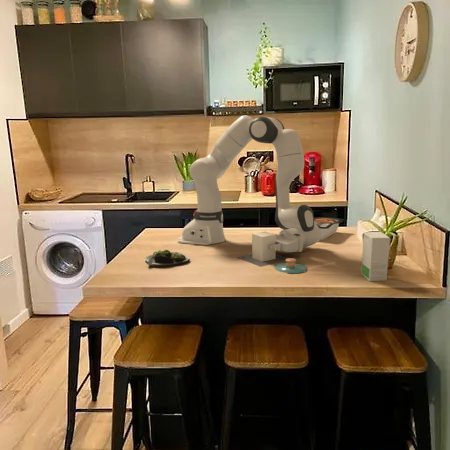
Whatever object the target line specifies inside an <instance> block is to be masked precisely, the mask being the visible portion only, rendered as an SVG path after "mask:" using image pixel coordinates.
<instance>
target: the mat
mask: <svg viewBox="0 0 450 450" xmlns="http://www.w3.org/2000/svg"><path fill="white" fill-rule="evenodd" d="M235 258H236V259H238V260H239V259H240V260H242V261H245V262H247V263H250V264H252V265H255V266H258V267H266V266H270V265H273V264H274V265H276V264H280V263H284V262H286V259H287V258H288V257H287V256H283V255H280V254H277V253H276V258H275V259H272V260H268V261H263V262H262V261H259V260H257V259H254V258H252V253H250V254H246V255H242V256H236V257H235Z"/></svg>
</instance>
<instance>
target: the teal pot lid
mask: <svg viewBox="0 0 450 450" xmlns="http://www.w3.org/2000/svg"><path fill="white" fill-rule="evenodd" d="M274 269H275V270H276V271H278V272H281V273H286V274H289V275H293V274H302V273H305V272H306V271H307V269H308V267H307V265H305V264H302V263H300V262H299V263H298V262H297V259H296V258H291V257H287V259H286V261H285V262H279V263H276V264H274ZM304 271H305V272H304ZM301 272H302V273H301Z"/></svg>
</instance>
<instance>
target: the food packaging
mask: <svg viewBox="0 0 450 450" xmlns="http://www.w3.org/2000/svg"><path fill="white" fill-rule="evenodd" d="M343 221H345V219H344V218H339V217H329V216H328V217H327V216H326V217H321V216H320V217H314V222H315V224H316V225H317V226H318V227H319V229H320V231H321V237H320V239H319V241H324V240H325V239H327V238H329V237H331V236H333V235H334V234H335V233H337V230H338V228H339V224H341V223H343Z"/></svg>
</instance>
